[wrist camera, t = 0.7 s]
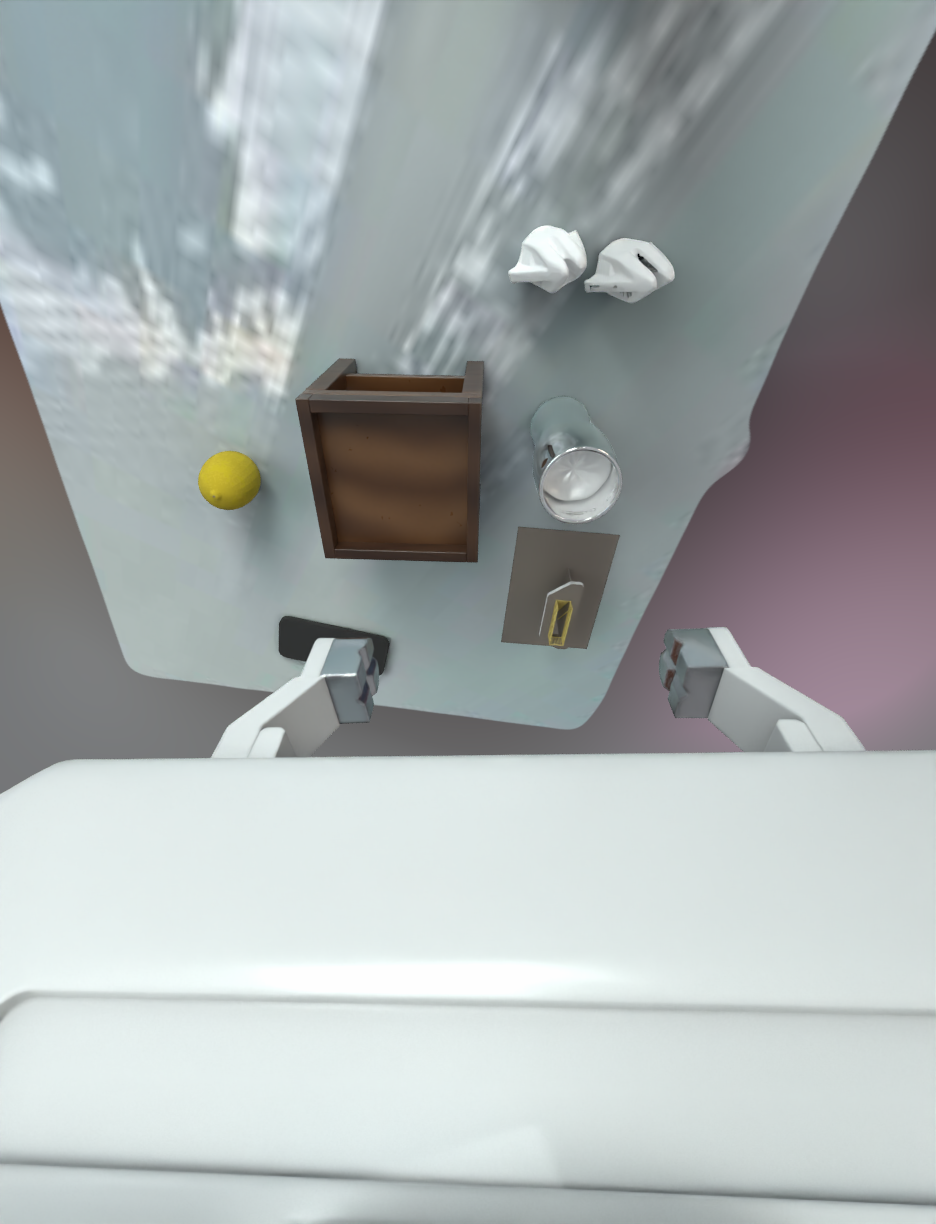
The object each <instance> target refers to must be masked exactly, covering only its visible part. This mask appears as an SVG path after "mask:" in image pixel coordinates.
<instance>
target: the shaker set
mask: <svg viewBox="0 0 936 1224" xmlns="http://www.w3.org/2000/svg"><path fill="white" fill-rule="evenodd" d="M652 243H653V242H652V241H651V242H650V243H647V242H644V241H640V240H634V239H628V238H622V239H619V240H615V241H614V242H611V243H610V245H608V246H607V247H606V248H605V249H604V250H603V251H602V252H600V254H599V257H598V259H599V262H598V264H597V268H596V274H595V275H594V276H592V277H591V278H590V279H587V280H585V282H584V283H585V288H584V289H585V290H586V292H587V293H588V292H589V293H590V292H607V293H608V295H612V296H614V297H616V298H619V299H621V300H623V301H626V302H629V303H635V302H637V301H639V300H641V299H642V298H644V297H646V296H647V295H649V294H650V293H652V292H653V291H654V290H656V289H658V288H660V287H662V286H664V285H666V284H668V283H669V282H671V281H673V280H674V278H675V273H674V269H673V266H672V264H671V263H670V261H669V260H668V259H667V258H666V256H665V255H664V254H663V253H662V252H661V251H660V250H659V249H658V248H657V247H656V246H654V245H653V244H652ZM638 253H639V254H640V255H639V256H643V257H644V259H643V260H642V261H641V260H640V261H641V262H640V261H639V260H638V259H637V258H638V256H637V254H638ZM586 266H587V257H586V253H585V249H584V246H583V243H582V241H581V239H580V237H579V235H578V232H577V231H576V230H575V231H573V232H570V233H566V231H564V230H563V229H560V228H555V227H552V226H549V225H547V226H542V227H539V228H537V229H535V230H534V231H533V232H532V233H531V234H530V235H529V236H528V237H527V238H526V239H525V240H524V241H523V243H522V248H521V254H520V258H519V261H518V263H517V265H516V266H515V267H514V268H513V269H511V270H510V271H509V278H510V281H511V282H512V283H514V284H515V283H517V282H532V283H533V284H534V285H535V286H539V287H541V288H542V289H544V290H546V291H548V292H549V293H555V292H556V291H558V290H559V289H560V288H562V287H563V286H564V285H566V284H568V283H570V282H571V281H573V280H575V279H577V278H578V277H580V276H581V275H582V273H583V272H584V270H585V269H586ZM590 285H592V288H591V290H590ZM593 285H594V286H596V285H599V286H597V287H596V288H595V287H593ZM615 285H616V286H615Z"/></svg>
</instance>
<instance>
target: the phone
mask: <svg viewBox="0 0 936 1224" xmlns="http://www.w3.org/2000/svg"><path fill="white" fill-rule="evenodd" d="M318 638H371V639H372V642H373V646H374V651H373V655H372V656H373V657H374V658H375V659H376V660H377V662H378V667H379V675H381V674H382V673H383V671H384V667H385V663H386V658H387V653H388V647H389V641H388V639H387V638H385V637H383V636H379V635H375V634H370V633H365V632H361V631H356V630H351V629H346V628H342V627H337V626H332V625H328V624H323V623H318V622H314V621H309V620H304V619H299V618H295V617H290V616H285V617H283V618H282V619H281V621H280V623H279V652H280V654H281V655H282V656H284V657H287V658H291V659H296V660H301V661H307V659H308V657H309V654H310V652H311V650H312V647H313V645H314V643H315V641H316V640H317V639H318Z"/></svg>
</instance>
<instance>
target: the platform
mask: <svg viewBox="0 0 936 1224" xmlns="http://www.w3.org/2000/svg"><path fill="white" fill-rule="evenodd" d="M619 536H620V535H612V534H600V533H588V532H576V531H564V530H551V529H539V528H527V527H518V533H517V540H516V547H515V553H514V560H513V566H512V573H511V580H510V586H509V593H508V600H507V606H506V613H505V620H504V626H503V633H502V640H501V642H506V643H519V644H532V645H545V646H553V647H555V648H557V649H567V648H568V647H570V648H583V649H587V646H588V643H589V639H590V636H591V632H592V629H593V626H594V622H595V619H596V615H597V612H598V608H599V605H600V602H601V598H602V595H603V591H604V588H605V584H606V581H607V578H608V574H609V571H610V567H611V564H612V560H613V557H614V554H615V550H616V547H617V543H618V540H619Z"/></svg>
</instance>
